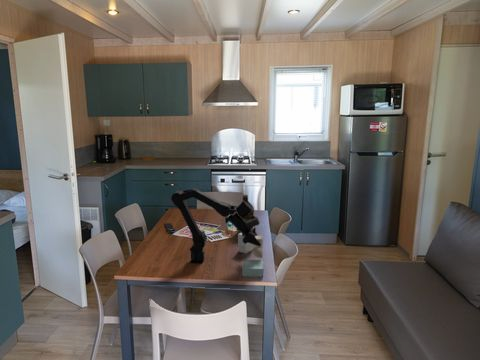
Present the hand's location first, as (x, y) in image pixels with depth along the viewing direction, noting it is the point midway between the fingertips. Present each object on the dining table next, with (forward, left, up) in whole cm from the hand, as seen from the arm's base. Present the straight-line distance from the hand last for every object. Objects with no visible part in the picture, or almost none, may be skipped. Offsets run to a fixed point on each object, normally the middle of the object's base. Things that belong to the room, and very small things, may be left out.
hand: (260, 243), depth 176 cm
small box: (-8, +15, -10) cm, 20 cm away
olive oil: (-10, +45, -10) cm, 47 cm away
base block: (-3, -11, -10) cm, 16 cm away
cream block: (-1, 0, -7) cm, 7 cm away
